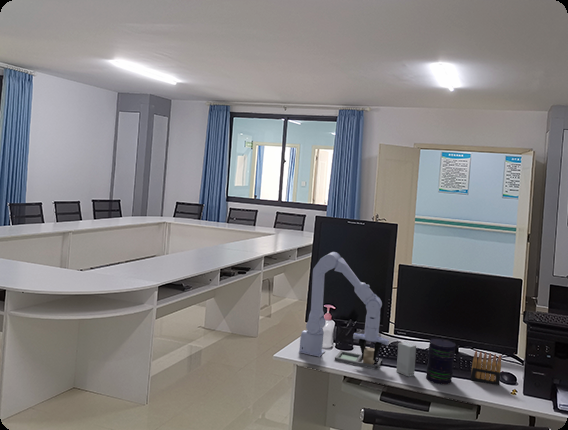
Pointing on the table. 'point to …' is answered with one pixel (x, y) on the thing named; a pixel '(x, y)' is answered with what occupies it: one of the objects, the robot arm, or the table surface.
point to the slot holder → (355, 359)
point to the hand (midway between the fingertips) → (369, 358)
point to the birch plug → (368, 355)
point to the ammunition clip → (486, 369)
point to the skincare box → (406, 358)
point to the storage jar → (440, 361)
